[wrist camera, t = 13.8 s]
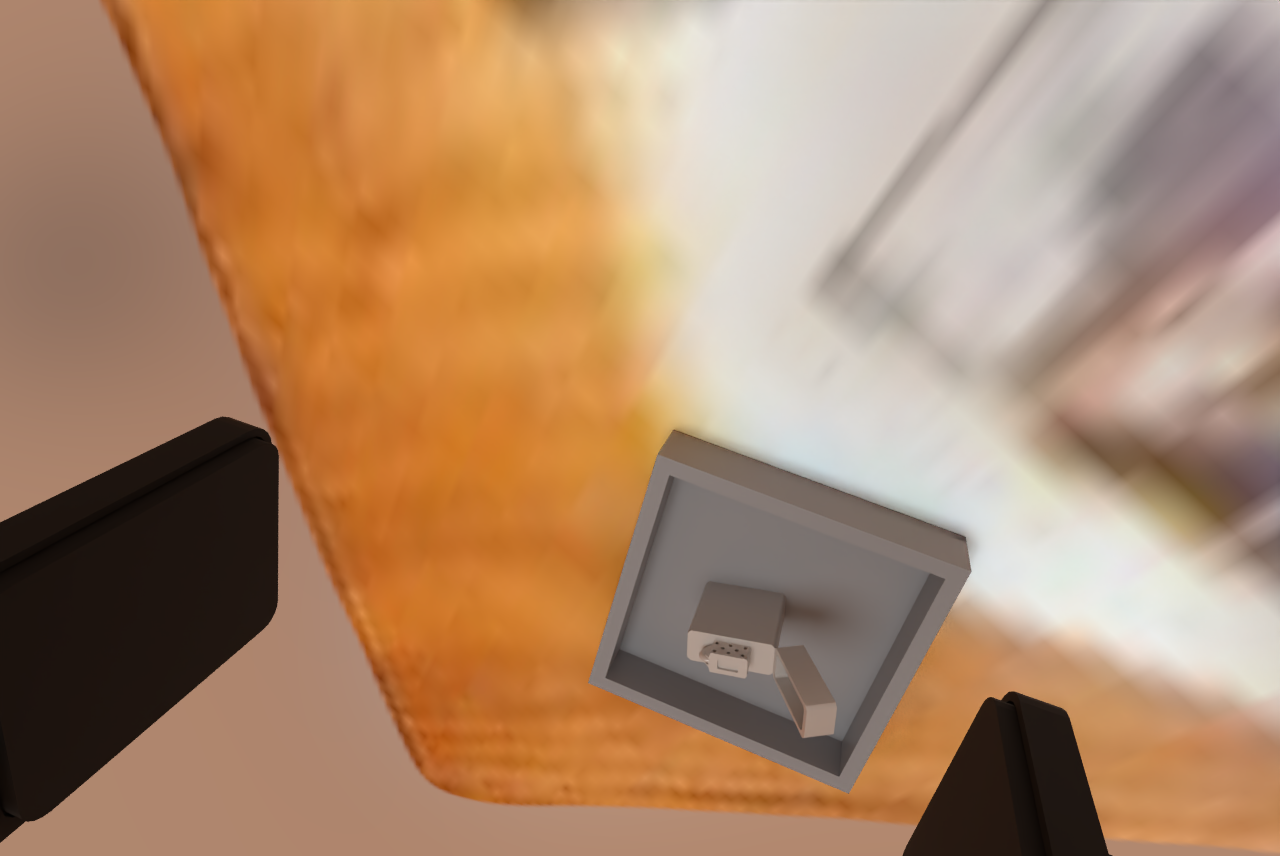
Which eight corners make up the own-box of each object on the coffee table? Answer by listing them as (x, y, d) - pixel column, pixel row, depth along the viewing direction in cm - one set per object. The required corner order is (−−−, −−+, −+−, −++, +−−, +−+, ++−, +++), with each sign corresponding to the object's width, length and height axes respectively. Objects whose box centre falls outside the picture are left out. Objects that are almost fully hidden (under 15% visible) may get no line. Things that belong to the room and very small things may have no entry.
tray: (965, 537, 37) (971, 571, 34) (851, 750, 44) (848, 793, 41) (673, 430, 39) (657, 454, 37) (605, 648, 46) (588, 682, 43)
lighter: (705, 608, 42) (667, 712, 35) (706, 580, 41) (668, 680, 34) (842, 632, 40) (832, 747, 33) (846, 603, 40) (836, 714, 33)
